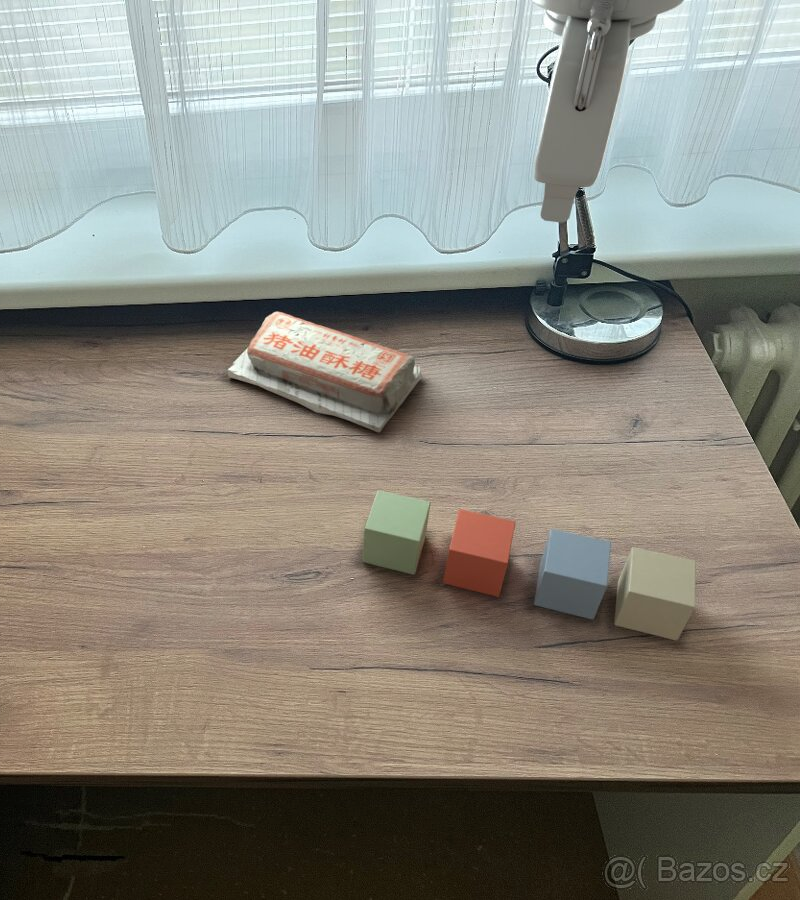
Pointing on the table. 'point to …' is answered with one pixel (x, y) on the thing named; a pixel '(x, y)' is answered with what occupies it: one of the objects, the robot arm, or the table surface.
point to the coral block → (479, 552)
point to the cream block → (656, 593)
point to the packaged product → (327, 370)
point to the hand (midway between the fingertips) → (561, 181)
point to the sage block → (395, 532)
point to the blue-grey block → (573, 574)
